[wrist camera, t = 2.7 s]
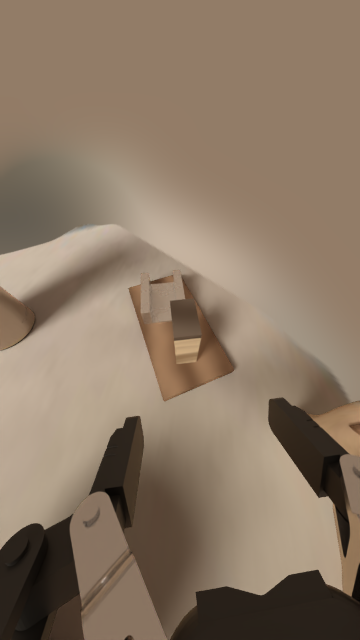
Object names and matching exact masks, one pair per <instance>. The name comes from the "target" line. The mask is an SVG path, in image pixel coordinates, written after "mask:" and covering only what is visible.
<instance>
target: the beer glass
mask: <svg viewBox="0 0 360 640" xmlns="http://www.w3.org/2000/svg"><path fill="white" fill-rule="evenodd" d="M308 415H309V416H310V417H311V418H312V419H313V421H315V422H316V423H317V424H318V425H319V426H320V427H322V428H323V429H324V430H325V431H326V432H327V433H328V434H329V435H330V436H331V437H332V438H333V439H334V440H335V441H336V442H337V443H338V444H340V445H341V446H342V447H343V448H344V449H345V450H346V451H347V452H348V453H349V454H351V455H355V456H358V457H360V401H356V402H352V403H349V404H346V405H343V406H340V407H338V408H335V409H333V410H330V411H328V412H326V413H324V414H321V415H312V414H308Z"/></svg>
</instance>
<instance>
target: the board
mask: <svg viewBox="0 0 360 640" xmlns="http://www.w3.org/2000/svg"><path fill="white" fill-rule="evenodd" d="M170 282H174V281H173V275H172V276H168V277H165V278H161V279H158V280H154V281H151V284H160V283H170ZM182 283H183V289H184V295H185V299H192V298H193V296H192V294H191V293H190V291H189V289H188V287H187V286H186V284H185V282H184V280H183V279H182ZM128 289H129V292H130V295H131V298H132V301H133V304H134V308H135V311H136V314H137V317H138V320H139V324H140V327H141V330H142V333H143V336H144V340H145V343H146V346H147V349H148V352H149V355H150V359H151V362H152V365H153V368H154V371H155V375H156V378H157V381H158V384H159V387H160V391H161V394H162V397H163V400H164V401H167V400H169V399H171V398H173V397H176V396H178V395H180V394H183V393H185V392H187V391H190V390H192V389H194V388H197V387H199V386H201V385H204V384H206V383H208V382H211V381H213V380H215V379H217V378H220V377H222V376H224V375H227V374H229V373H231V372H233V371H234V368H233V367H232V365H231V363H230V361H229V360H228V358H227V356H226V354H225V352H224V351H223V349H222V347H221V345H220V344H219V342H218V340H217V338H216V337H215V335H214V333H213V331H212V330H211V328H210V326H209V324H208V323H207V321H206V319H205V317H204V316H203V314H202V312H201V310H200V308H199V307H198V305H197V303H196V301H195V304H196V309H197V314H198V319H199V324H200V328H201V333H202V336H201V341H200V346H199V351H198V356H197V360H196V362H191V363H182V364H176V355H175V345H174V336H173V326H172V321H170V322H160V323H151V324H144V321H143V318H142V316H141V285H137V286H134V287H130V288H128Z"/></svg>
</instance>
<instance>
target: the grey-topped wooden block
mask: <svg viewBox="0 0 360 640" xmlns="http://www.w3.org/2000/svg"><path fill="white" fill-rule="evenodd" d="M170 308H171V317H172V326H173V336H174V345H175V355H176V364H182V363H191V362H196V360H197V356H198V351H199V346H200V341H201V336H202V333H201V328H200V324H199V319H198V314H197V309H196V304H195V299H194V298H192V299H182V300H172V301H170Z"/></svg>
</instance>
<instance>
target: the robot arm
mask: <svg viewBox="0 0 360 640" xmlns="http://www.w3.org/2000/svg"><path fill="white" fill-rule="evenodd" d="M34 321H35V315H34V313H33V312H32V311H31V310H30V309H29V308H28V307H26V306H25V305H24V304H22V303H21V302H20V301H19V300H17V299H16V298H15V297H13V296H12V295H11V294H10V293H8V292H7V291H6V290H4V289H3V288H2V287H0V350H3V349H6V348H9V347H11V346H13V345H14V344H16V343H18V342H19V341H20V340H22V339H23V338H24V337H25V336H26V335H27V334H28V333H29V331H30V330H31V329H32V327H33V324H34ZM268 421H269V425H270V428H271V430H272V432H273V433H274V434H275V436H276V437H277V439H278V440H279V442H280V443H281V445H282V446H283V447H284V449H285V450H286V452H287V453H288V455H289V456H290V457H291V459H292V460H293V462H294V463H295V465H296V466H297V467H298V469H299V470H300V472H301V473H302V475H303V476H304V477H305V479H306V480H307V482H308V483H309V485H310V486H311V487H312V489H313V490H314V492H315V493H316V495H317V496H318V497H319V498H320V497H326V496H329V498H330V499H331V500H332V502H333V513H334V519H335V526H336V532H337V538H338V544H339V551H340V557H341V564H342V588H343V591H341V590H339V589H337V588H335V587H332V586H330V585H327V584H325V582H324V580H323V578H322V576H321V574H320V572H319V570H314V571H308V572H303V573H297V574H292V575H288V576H287V577H286V578H285V579H283V580H282V581H281V582H280V583H278V584H277V585H276V586H275V587H274V588H272V589H271V590H270V591H269V592H267V593H266V594H265V595H256V594H253V593H249V592H245V591H242V590H238V589H234V588H230V587H221V588H216V589H210V590H205V591H199V592H196V600H197V606H196V607H195V608H193V609H192V610H191V611H190V612H189V613H188V614H187V615H186V616H185V617H184V618H183V619H182V621H181V622H180V624H179V625H178V627H177V628H176V630H175V632H174V633H173V635H172V637H171V639H170V640H360V457H358V456H355V455H351V454H349V453H348V452H347V451H346V450H345V449H344V448H343V447H342V446H341V445H340V444H338V443H337V442H336V441H335V440H334V439H333V438H332V437H331V436H330V435H329V434H328V433H327V432H326V431H325V430H324V429H323V428H322V427H320V426H319V425H318V424H317V423H316V422H315V421H313V419H312V418H311V417H310V416H309V415H308V414H307V413H306V412H305V411H303V410H301V409H300V408H298V407H296V406H291V405H290V404H289V403H288V402H287V401H286V400H285V399H284V398H275V399H270V400H269V416H268ZM143 448H144V437H143V431H142V425H141V419H140V416H134V417H127V418H126V420H125V423H124V426H123V428H120V429H117V430H116V431H115V432H114V433H113V435H112V436H111V437H110V440H109V443H108V445H107V449H106V451H105V453H104V457H103V459H102V462H101V464H100V467H99V470H98V472H97V475H96V478H95V481H94V483H93V486H92V489H91V491H90V494H89V496H88V497H87V498H85V499H84V500H83V501H82V502H81V503H80V505H79V506H78V507H77V509H76V510H75V512H74V514H72V515H71V516H70V517H68V518H66V519H65V520H63V521H61V522H59V523H57V524H55V525H53V526H51V527H50V528H48V529H46V530H44V529H43V526H42V525H40V524H37V523H35V524H30V525H28V526H26V527H24V528H22V529H21V530H20V531H18V532H17V533H16V534H15V535H13V536H12V537H11V538H10V539H9V540H8V541H7V542H6V544H5V545H4V546H3V547H2V548H1V550H0V640H48V638H49V634H50V631H51V628H52V625H53V621H54V618H55V615H56V612H57V609H58V608H59V607H60V606H62V605H63V604H65V603H66V602H68V601H69V600H71V599H72V598H73V597H75V596H76V595H78V594H79V593H80V597H81V604H82V609H81V620H82V628H83V635H84V640H167V638H166V636H165V633H164V631H163V628H162V626H161V623H160V620H159V618H158V615H157V613H156V610H155V608H154V605H153V603H152V600H151V598H150V595H149V593H148V590H147V588H146V585H145V582H144V580H143V577H142V575H141V572H140V570H139V567H138V565H137V562H136V560H135V557H134V555H133V553H132V552H131V551H130V549H129V547H128V544H127V542H126V539H125V536H124V529H125V528H128V527H132V524H133V517H134V510H135V503H136V496H137V489H138V483H139V476H140V469H141V462H142V455H143Z"/></svg>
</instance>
